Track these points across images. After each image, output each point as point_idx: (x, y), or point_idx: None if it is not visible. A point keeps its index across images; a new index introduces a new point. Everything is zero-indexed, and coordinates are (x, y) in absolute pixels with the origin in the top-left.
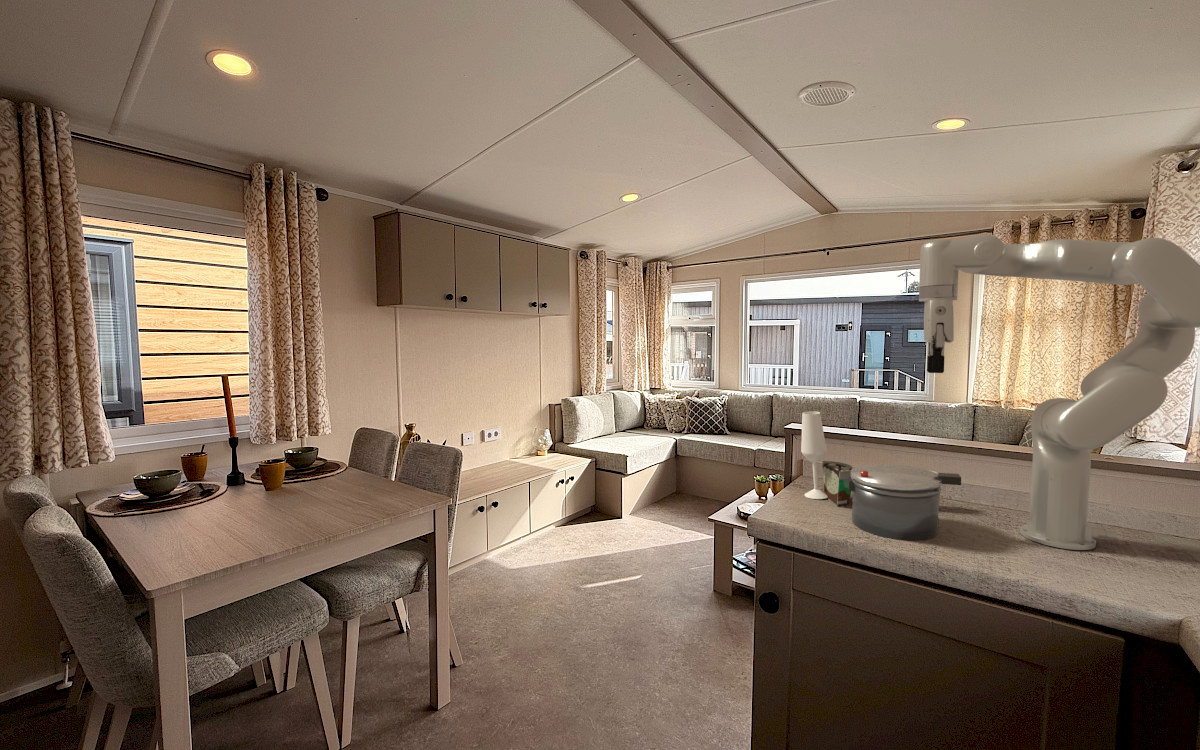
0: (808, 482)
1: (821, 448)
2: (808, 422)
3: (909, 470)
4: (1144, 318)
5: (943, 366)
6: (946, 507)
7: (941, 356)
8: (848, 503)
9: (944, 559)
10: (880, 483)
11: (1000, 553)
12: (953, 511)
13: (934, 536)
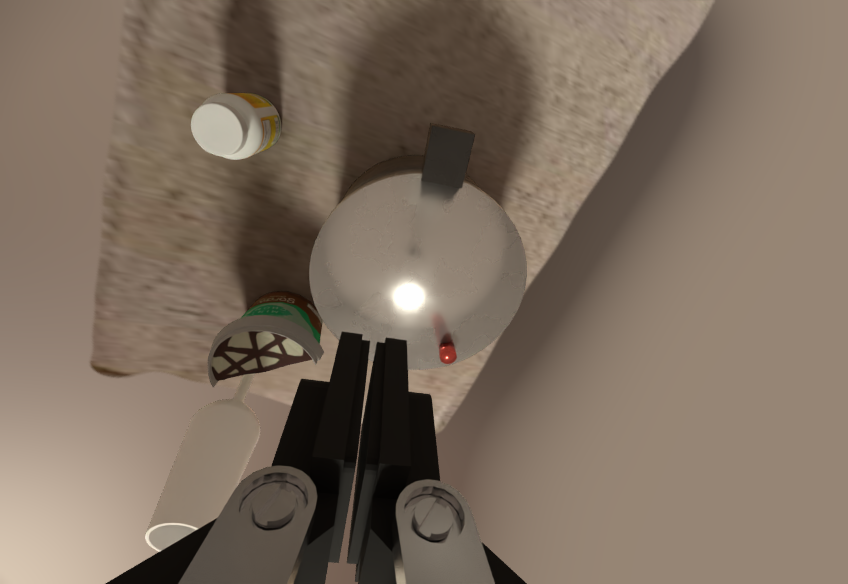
0: (152, 353)
1: (246, 426)
2: None
3: (373, 238)
4: None
5: (406, 376)
6: (235, 67)
7: (404, 485)
8: (301, 297)
9: (573, 193)
10: (504, 328)
11: (536, 69)
12: (266, 60)
13: (467, 175)
